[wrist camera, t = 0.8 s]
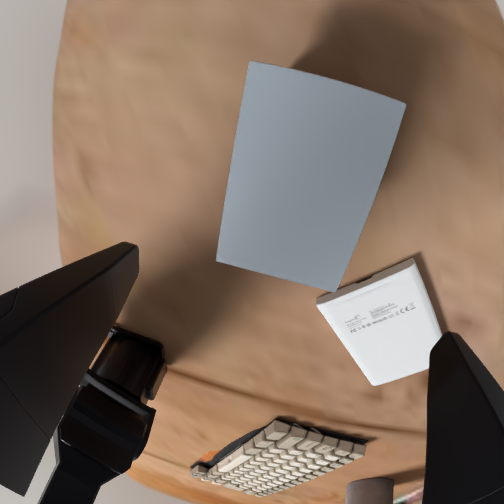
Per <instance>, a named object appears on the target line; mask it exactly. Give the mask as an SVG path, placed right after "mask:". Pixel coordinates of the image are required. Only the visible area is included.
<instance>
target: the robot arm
mask: <svg viewBox="0 0 504 504" xmlns="http://www.w3.org/2000/svg"><path fill="white" fill-rule="evenodd" d="M138 273H139V248H138V246H137V245H135V244H132V243H129V242H121V243H119V244H116V245H114V246H111V247H109V248H107V249H104V250H102V251H99V252H97V253H94V254H92V255H90V256H87V257H85V258H83V259H80V260H78V261H76V262H73V263H71V264H69V265H66V266H64V267H62V268H60V269H57V270H55V271H53V272H50V273H48V274H46V275H44V276H41V277H39V278H37V279H35V280H33V281H30V282H28V283H26V284H24V285H21V286H20V287H19V288H15V289H13V290H11V291H9V292H6V293H4V294H2V295H0V484H1V485H2V486H4V487H6V488H8V489H10V490H12V491H14V492H15V493H17V494H19V495H22V496H25V494H26V492H27V490H28V488H29V485H30V483H31V481H32V479H33V476H34V474H35V472H36V470H37V468H38V465H39V463H40V461H41V459H42V457H43V455H44V453H45V450H46V449H47V447H48V444H49V442H50V439H51V438H52V436H53V438H54V448H55V457H56V466H55V468H54V470H53V472H52V474H51V476H50V478H49V480H48V483H47V485H46V487H45V489H44V491H43V493H42V495H41V497H40V499H39V502H38V504H93V503H94V501H95V498H96V496H97V494H98V491H99V489H100V487H101V485H103V484H105V483H106V482H108V481H110V480H111V479H113V478H115V477H116V476H118V475H120V474H122V473H124V472H126V471H127V470H128V469H130V467H131V464H132V461H133V460H136V459H137V458H138V457H139V456H140V454H141V453H142V451H143V450H144V448H145V446H146V444H147V441H148V438H149V434H150V431H151V427H152V424H153V420H154V417H155V413H156V410H155V409H154V408H150V407H149V406H147V405H146V404H147V401H148V399H149V400H154V398H155V396H156V394H157V392H158V389H159V387H160V385H161V383H162V380H163V378H164V376H165V374H166V362H165V360H164V358H163V346H162V344H160V343H158V342H155V341H152V340H150V339H147V338H144V337H141V336H138V335H136V334H133V333H130V332H127V331H125V330H122V329H120V328H117V327H114V324H115V322H116V320H117V318H118V316H119V314H120V312H121V310H122V308H123V306H124V303H125V301H126V299H127V297H128V295H129V293H130V291H131V289H132V287H133V285H134V283H135V280H136V278H137V276H138ZM108 334H109V340H108V342H107V343H106V345H105V346H104V348H103V350H102V351H101V353H100V354H99V356H98V358H97V359H96V361H95V362H94V364H93V366H92V367H91V369H89V367H90V365H91V363H92V361H93V360H94V358H95V356H96V354H97V353H98V351H99V349H100V347H101V346H102V344H103V342H104V341H105V339H106V337H107V336H108ZM79 385H80V387H78V386H79ZM61 418H62V419H61ZM60 420H61V421H60ZM59 422H60V423H59ZM422 504H504V391H503V390H502V388H501V387H500V386H499V384H498V383H497V382H496V380H495V379H494V378H493V376H492V375H491V374H490V372H489V371H488V370H487V368H486V367H485V366H484V365H483V363H482V362H481V361H480V360H479V358H478V357H477V356H476V355H475V353H474V352H473V351H472V350H471V348H470V347H469V346H468V345H467V343H466V342H465V341H464V340H463V339H462V337H461V336H460V335H459V334H458V333H455V332H450V331H447V332H445V333H444V334H443V335H442V336H441V338H440V339H439V340H438V341H437V343H436V344H435V345H434V346H433V348H432V349H431V351H430V355H429V376H428V392H427V445H426V465H425V478H424V489H423V499H422Z"/></svg>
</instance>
